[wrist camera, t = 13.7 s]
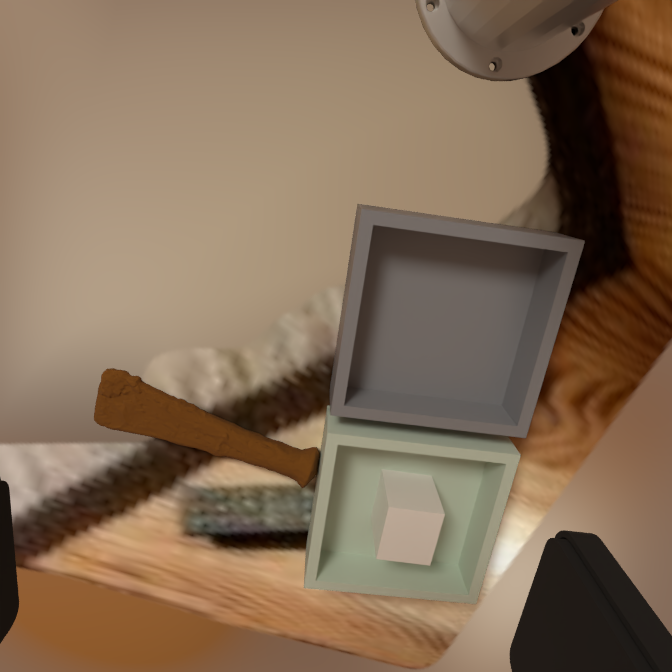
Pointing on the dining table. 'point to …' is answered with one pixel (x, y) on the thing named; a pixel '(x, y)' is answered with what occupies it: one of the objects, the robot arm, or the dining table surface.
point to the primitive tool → (193, 427)
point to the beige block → (406, 517)
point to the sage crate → (359, 495)
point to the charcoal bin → (448, 320)
